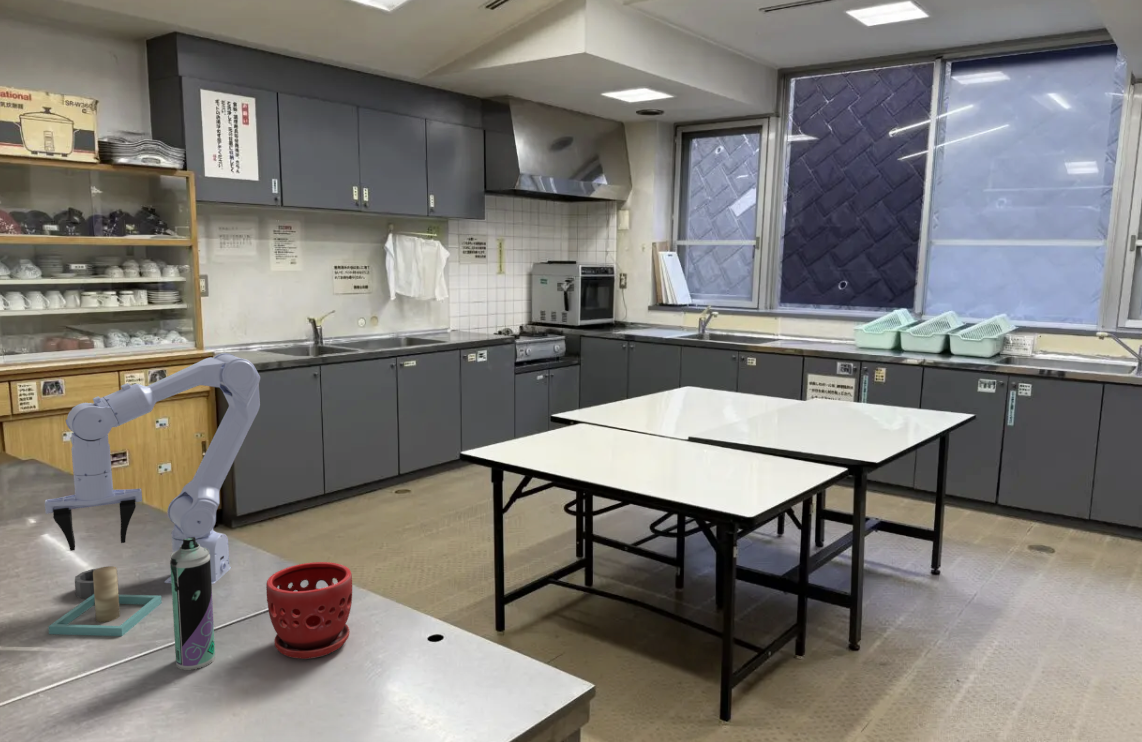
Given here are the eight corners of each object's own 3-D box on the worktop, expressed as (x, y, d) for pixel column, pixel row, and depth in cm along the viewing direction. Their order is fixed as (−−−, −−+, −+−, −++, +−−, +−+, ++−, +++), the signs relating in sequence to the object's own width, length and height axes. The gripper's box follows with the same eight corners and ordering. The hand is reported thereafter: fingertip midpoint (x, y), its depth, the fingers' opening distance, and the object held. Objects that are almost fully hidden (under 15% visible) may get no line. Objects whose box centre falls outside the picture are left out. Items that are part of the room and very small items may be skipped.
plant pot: (369, 633, 129) (368, 566, 127) (318, 673, 117) (316, 599, 115) (305, 619, 133) (303, 553, 131) (250, 655, 121) (247, 584, 119)
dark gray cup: (126, 585, 144) (124, 568, 144) (104, 601, 138) (103, 583, 137) (91, 584, 144) (89, 567, 144) (67, 600, 138) (66, 582, 137)
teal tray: (161, 605, 137) (161, 595, 137) (122, 638, 125) (121, 628, 125) (94, 603, 137) (94, 593, 137) (49, 636, 125) (48, 626, 125)
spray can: (199, 672, 116) (192, 546, 113) (167, 667, 117) (160, 543, 114) (222, 654, 121) (217, 533, 118) (192, 649, 122) (185, 530, 119)
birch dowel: (122, 612, 133) (120, 565, 132) (115, 621, 130) (112, 574, 129) (100, 613, 132) (97, 566, 131) (92, 623, 129) (89, 575, 128)
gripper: (139, 460, 142) (143, 530, 144) (44, 470, 134) (50, 544, 137) (140, 470, 136) (145, 543, 138) (41, 481, 129) (48, 558, 131)
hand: (98, 544), depth 137 cm, fingers open, 7 cm apart
